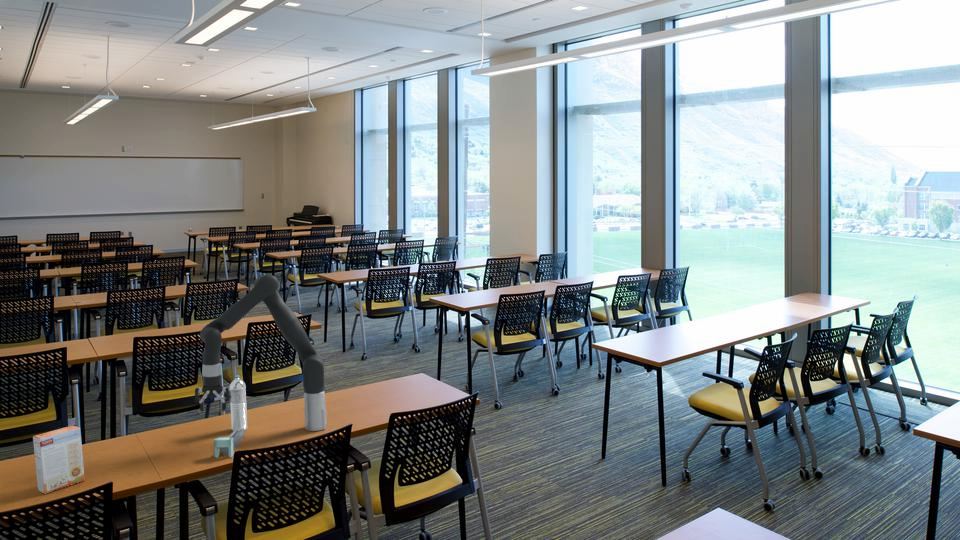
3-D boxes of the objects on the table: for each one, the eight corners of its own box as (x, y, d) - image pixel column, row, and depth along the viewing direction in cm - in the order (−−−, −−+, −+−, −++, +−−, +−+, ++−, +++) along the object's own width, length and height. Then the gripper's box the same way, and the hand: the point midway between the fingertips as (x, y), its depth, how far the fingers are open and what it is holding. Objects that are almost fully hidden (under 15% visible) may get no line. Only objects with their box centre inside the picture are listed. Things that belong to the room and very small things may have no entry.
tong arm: (228, 450, 285) (227, 441, 285) (224, 450, 285) (224, 441, 285) (239, 437, 301) (239, 428, 301) (235, 437, 301) (235, 428, 301)
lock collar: (231, 457, 278) (230, 439, 277) (214, 457, 278) (213, 440, 277) (233, 454, 281) (232, 437, 280) (217, 454, 281) (216, 437, 280)
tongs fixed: (230, 454, 281) (229, 444, 281) (221, 454, 281) (220, 444, 281) (244, 437, 301) (243, 428, 301) (235, 437, 301) (235, 428, 301)
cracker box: (77, 477, 259) (73, 424, 257) (85, 481, 256) (81, 427, 253) (36, 491, 248) (32, 435, 245) (44, 495, 244) (40, 438, 242)
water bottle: (242, 432, 307) (240, 378, 304) (228, 431, 308) (226, 377, 306) (250, 427, 314) (248, 374, 311) (236, 426, 315) (234, 373, 312)
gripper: (231, 371, 294) (233, 408, 296) (197, 371, 293) (199, 408, 295) (226, 375, 287) (228, 413, 289) (191, 376, 286) (193, 414, 288)
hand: (213, 411), depth 292 cm, fingers open, 8 cm apart
